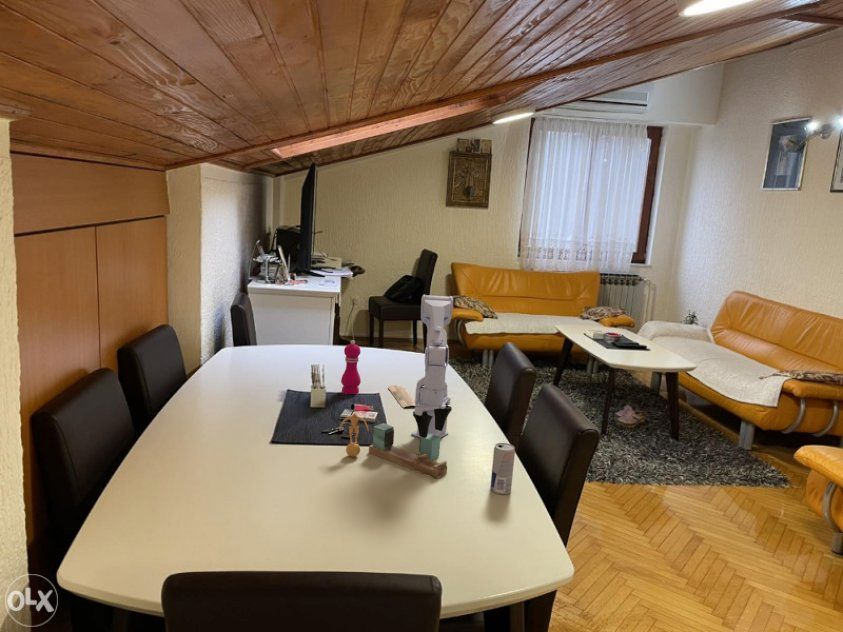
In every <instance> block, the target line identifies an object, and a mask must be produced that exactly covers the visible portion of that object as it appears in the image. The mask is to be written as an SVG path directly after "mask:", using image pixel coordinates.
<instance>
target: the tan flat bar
mask: <svg viewBox="0 0 843 632" xmlns="http://www.w3.org/2000/svg"><path fill="white" fill-rule="evenodd" d="M387 389H388V390H389V392H390V393H391V394H392V395H393V397H394V398H395V399H396V401H397V402H398V404H399V405H400V406H401V408H402V409H405V407H410V406H411V407H417V406H416V405H415V399H414V398H413V397H412V396H411V395H410V393H409V392H408V391H407V389H406V388H405V387H404V386H402V385H397V384H396V385H395V384H394V385H390V386H387Z"/></svg>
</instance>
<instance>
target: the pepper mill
mask: <svg viewBox="0 0 843 632" xmlns="http://www.w3.org/2000/svg"><path fill="white" fill-rule="evenodd" d="M343 349H344V350H343V353H344V355H345V357H344V358H345V359H344V361H345V363H346V365H345V370H344V372H343V373H342V376H341V379H340V380H341V381H340V382H341V384H342V387H341V393H342V392H343V393H342V394H344V393H346V394H345V395H347V394H355V395H358V394H359V393H360V388H359V386H360V384H361V381H362V380H361V376H360V374H359V371H358V362H359V361H360V360H359V359H360V358H359V356H360V355H361V348H360V346H359V345H358V344H356V340H354V339H351V340H350V344H347V345H346V346H345V347H344V348H343ZM357 393H358V394H357Z"/></svg>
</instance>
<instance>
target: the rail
mask: <svg viewBox="0 0 843 632" xmlns="http://www.w3.org/2000/svg"><path fill="white" fill-rule="evenodd" d="M372 437H373V439H372V444H370V445H369V446H368V453H369V454H372V455H374V456H377V457H379V458H382V459H385V460H386V461H390V462H392V463H394V464H397V465H401V466H403V467H405V468H408V469H409V470H413V471H415V472H418V473H421V474H424V475H426V476H428V477H431V478H432V479H433V478H434V479H438V478H440V477H441V476H444V475H446V474H447V473H448V465H447V463H448V461H446V460H442V461H441V462H437V461H435V460H430V459H427V454H423V455H421V456H420V454H416V453H413V452H410V451H409V450H408V451H407V450H405V449H402V448H400V447H398V446H394V441H395V440H394V439H395V429H394V426H392V425H389V424H387V423H380V424H377V425H375V426H373V435H372Z"/></svg>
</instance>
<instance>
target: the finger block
mask: <svg viewBox="0 0 843 632" xmlns="http://www.w3.org/2000/svg"><path fill="white" fill-rule="evenodd" d="M440 448H441V437H439V436H436V435H433V434H430V433H429V434H427V437H426V438H423V437H421V438H420V437H419V448H418V453H419V456H421V455H423V454H427V459H430V460H432V461H434V459H435V460H436V459H438V458H439V457H440Z"/></svg>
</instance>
